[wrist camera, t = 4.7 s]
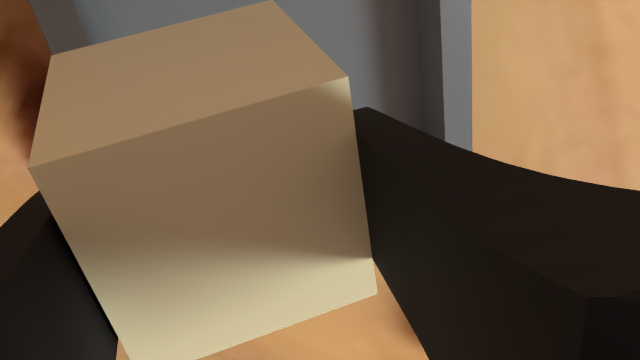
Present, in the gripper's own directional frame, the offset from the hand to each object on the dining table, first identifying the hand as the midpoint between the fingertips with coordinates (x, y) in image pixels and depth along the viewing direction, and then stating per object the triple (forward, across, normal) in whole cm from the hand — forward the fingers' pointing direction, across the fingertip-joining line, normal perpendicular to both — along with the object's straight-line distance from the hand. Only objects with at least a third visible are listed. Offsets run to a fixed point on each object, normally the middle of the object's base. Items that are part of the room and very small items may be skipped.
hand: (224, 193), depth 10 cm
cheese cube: (+3, 0, 0) cm, 3 cm away
